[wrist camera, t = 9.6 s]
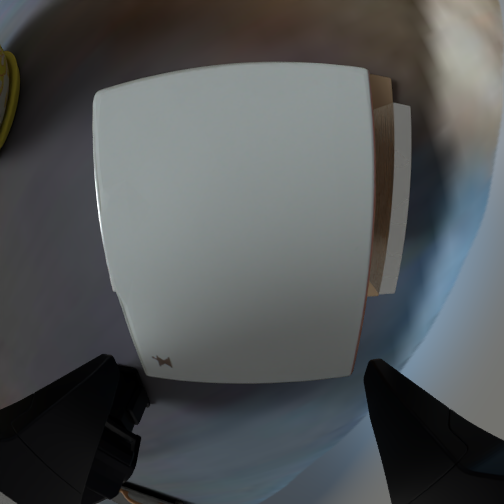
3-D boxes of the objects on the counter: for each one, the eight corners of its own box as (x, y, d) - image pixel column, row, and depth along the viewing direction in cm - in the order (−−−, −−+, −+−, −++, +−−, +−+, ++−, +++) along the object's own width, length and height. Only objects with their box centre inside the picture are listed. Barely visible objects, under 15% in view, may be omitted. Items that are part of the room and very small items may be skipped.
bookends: (129, 255, 20) (88, 289, 14) (117, 127, 17) (67, 122, 11) (384, 255, 19) (421, 291, 13) (392, 122, 16) (438, 113, 10)
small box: (302, 242, 19) (354, 382, 7) (212, 246, 19) (141, 381, 7) (299, 125, 16) (374, 61, 4) (203, 131, 17) (83, 93, 4)
